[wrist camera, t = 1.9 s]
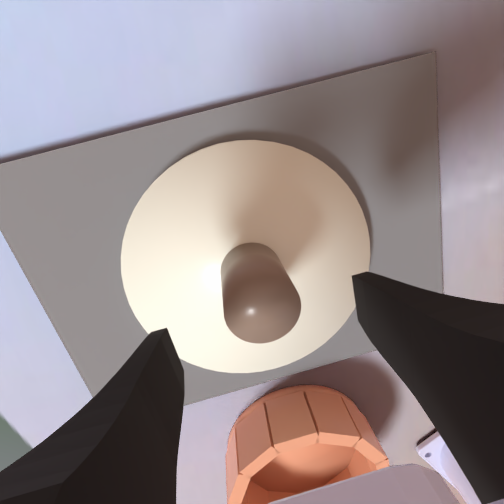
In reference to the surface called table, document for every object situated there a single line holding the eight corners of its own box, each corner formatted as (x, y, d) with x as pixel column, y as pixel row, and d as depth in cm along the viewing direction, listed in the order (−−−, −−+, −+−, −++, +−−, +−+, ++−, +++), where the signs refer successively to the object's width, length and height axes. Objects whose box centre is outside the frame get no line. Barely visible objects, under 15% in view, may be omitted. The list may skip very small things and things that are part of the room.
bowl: (389, 431, 24) (420, 484, 21) (291, 506, 26) (304, 569, 22) (302, 358, 21) (321, 404, 18) (197, 448, 23) (194, 509, 19)
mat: (437, 325, 22) (443, 330, 21) (112, 419, 21) (109, 427, 20) (427, 54, 16) (435, 51, 15) (-23, 170, 15) (-32, 172, 15)
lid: (406, 264, 19) (467, 304, 14) (244, 398, 21) (253, 471, 16) (256, 76, 15) (277, 51, 10) (69, 267, 17) (18, 317, 12)
